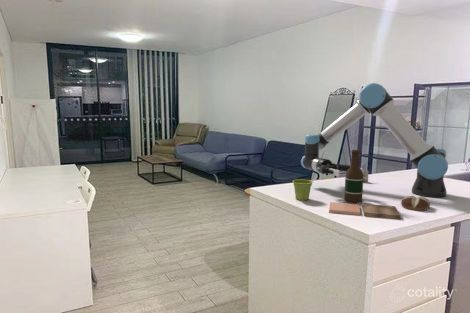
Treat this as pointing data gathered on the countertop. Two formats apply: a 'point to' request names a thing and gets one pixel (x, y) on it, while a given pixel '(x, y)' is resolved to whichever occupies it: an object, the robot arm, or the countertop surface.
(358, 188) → the beer bottle
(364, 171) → the architectural model
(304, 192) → the plant pot
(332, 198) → the countertop surface
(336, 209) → the terracotta tile
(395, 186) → the countertop surface
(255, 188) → the countertop surface
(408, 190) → the countertop surface
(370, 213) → the walnut board
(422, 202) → the bread
